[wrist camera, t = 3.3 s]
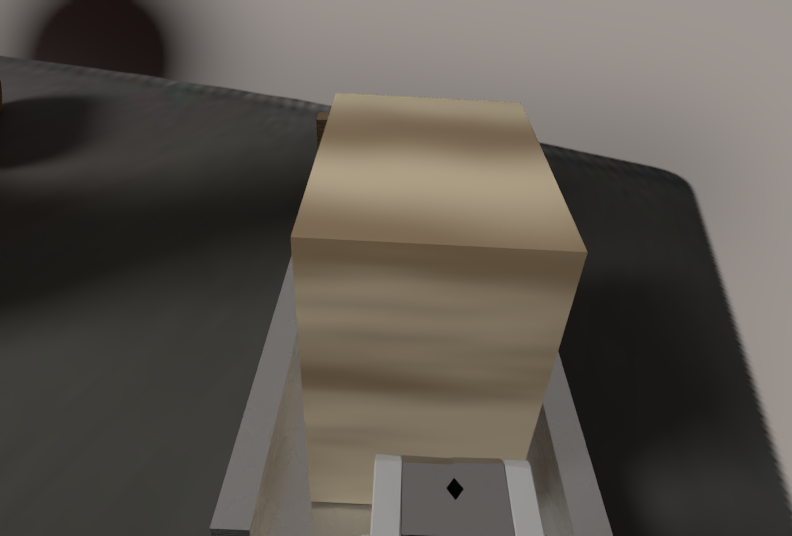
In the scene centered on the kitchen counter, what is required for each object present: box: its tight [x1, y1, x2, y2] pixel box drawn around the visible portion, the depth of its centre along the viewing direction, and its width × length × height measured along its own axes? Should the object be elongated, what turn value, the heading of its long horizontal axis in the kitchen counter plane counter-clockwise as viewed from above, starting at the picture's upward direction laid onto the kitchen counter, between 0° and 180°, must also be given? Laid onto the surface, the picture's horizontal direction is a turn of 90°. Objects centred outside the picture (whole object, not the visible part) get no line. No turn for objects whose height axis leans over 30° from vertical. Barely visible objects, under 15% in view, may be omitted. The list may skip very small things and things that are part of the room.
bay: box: [210, 112, 613, 536], centre depth 28 cm, size 26×12×6 cm, turn 179°
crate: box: [291, 93, 587, 504], centre depth 21 cm, size 11×7×11 cm, turn 179°
